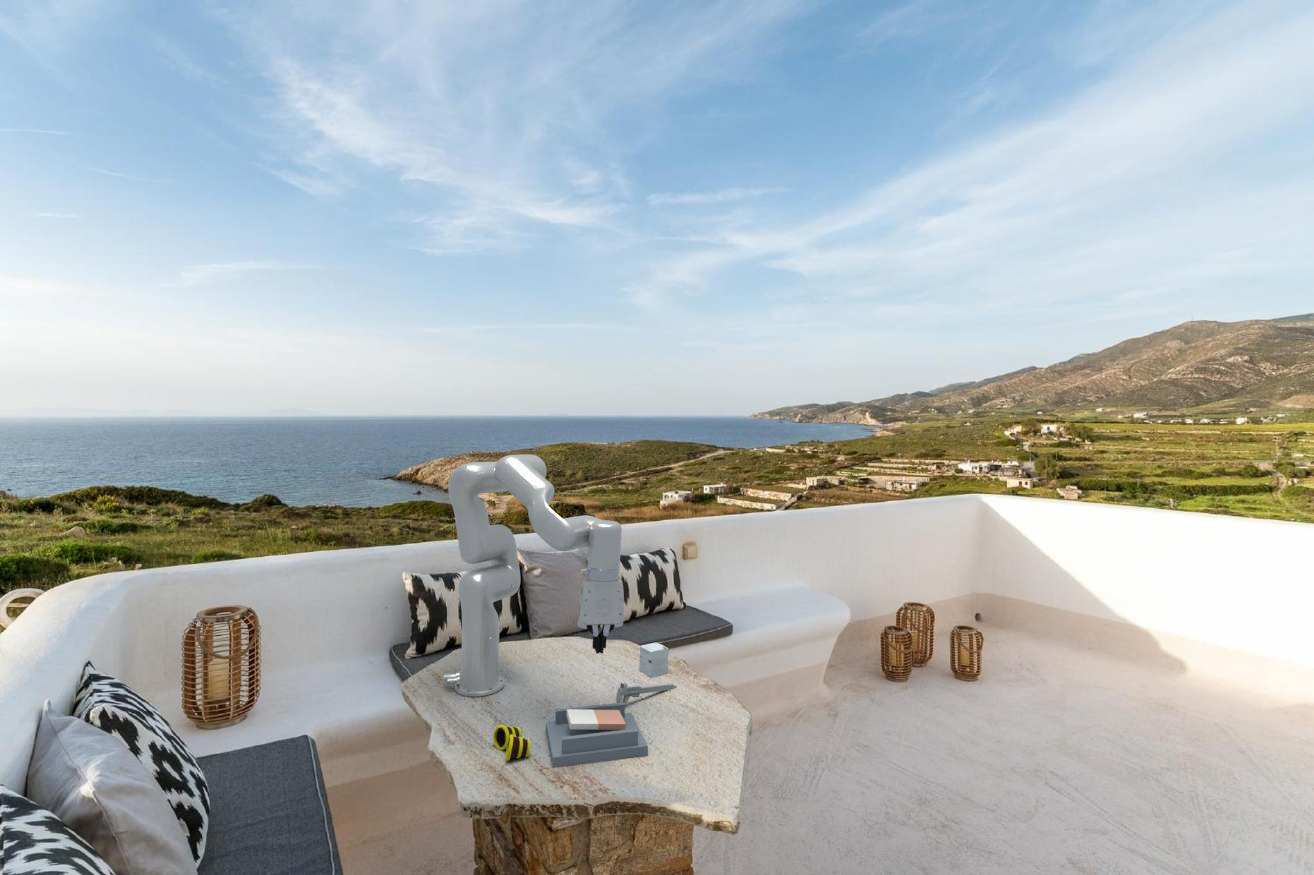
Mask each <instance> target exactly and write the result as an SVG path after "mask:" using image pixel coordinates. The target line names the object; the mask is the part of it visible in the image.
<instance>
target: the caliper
mask: <svg viewBox="0 0 1314 875" xmlns="http://www.w3.org/2000/svg"><path fill="white" fill-rule="evenodd" d="M674 688H677V685H676V684H674V683H671V682H670V683H661V684H660V683H659V684H653V685H643V686H641V685H639V684H636V685H628V683H627V682H624V683H622V682H621V683H620V686H619V687H618V688H617V692H616V698H615V699H616V700H615V701H616V702H615V703H622V702H624V704H625V708H626V707H627V705H628V702H629V699H630V697H632V698H639V697H640V695H642V694H650V693H657V692H666V691H670V690H673V689H674Z"/></svg>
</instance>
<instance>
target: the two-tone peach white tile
mask: <svg viewBox="0 0 1314 875" xmlns="http://www.w3.org/2000/svg"><path fill="white" fill-rule="evenodd" d="M566 715H567V719H568V723H569V727H570V729H600V730H625V726H626V724H625V722H624V719H623V717H622V715H621V713H620V711H619V710H580V709H567V713H566Z"/></svg>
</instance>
